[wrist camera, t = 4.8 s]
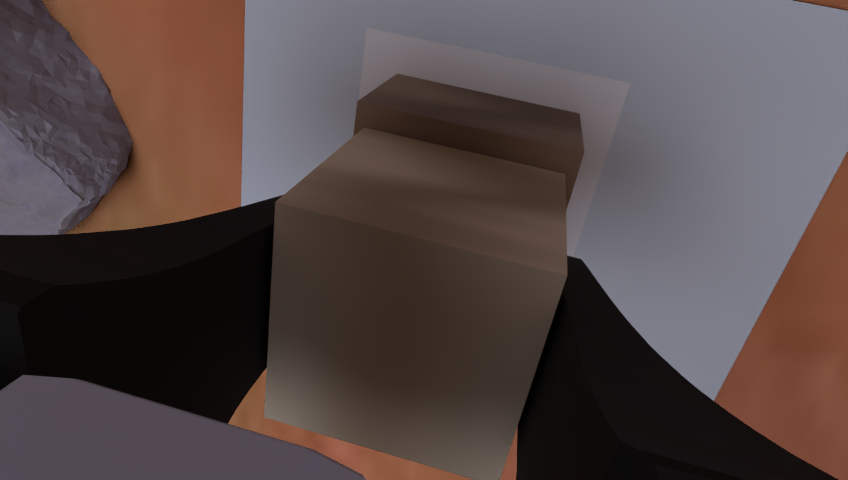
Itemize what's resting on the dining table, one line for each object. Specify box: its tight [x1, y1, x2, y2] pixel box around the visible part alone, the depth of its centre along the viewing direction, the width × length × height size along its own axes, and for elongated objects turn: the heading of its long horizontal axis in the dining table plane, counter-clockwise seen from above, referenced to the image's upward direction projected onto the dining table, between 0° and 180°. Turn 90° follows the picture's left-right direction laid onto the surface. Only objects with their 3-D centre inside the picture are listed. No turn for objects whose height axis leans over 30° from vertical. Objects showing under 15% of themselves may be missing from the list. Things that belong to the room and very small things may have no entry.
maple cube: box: [264, 128, 567, 480], centre depth 12 cm, size 4×4×4 cm
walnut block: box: [353, 74, 584, 210], centre depth 15 cm, size 5×5×4 cm
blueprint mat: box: [241, 0, 848, 401], centre depth 17 cm, size 16×14×1 cm
